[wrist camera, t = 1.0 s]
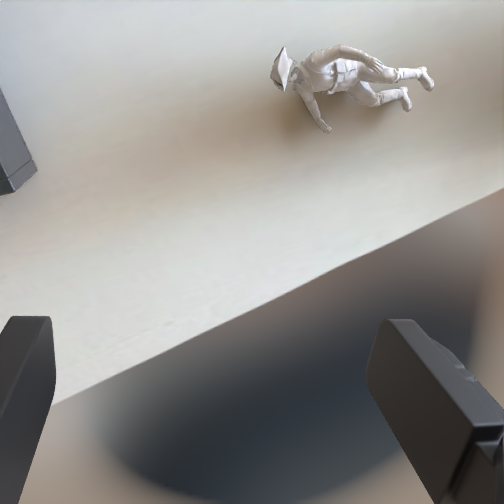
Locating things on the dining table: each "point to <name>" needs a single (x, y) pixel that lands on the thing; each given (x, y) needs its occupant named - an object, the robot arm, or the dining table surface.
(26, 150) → the grey open box
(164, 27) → the dining table surface
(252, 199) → the dining table surface
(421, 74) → the soldier figure
